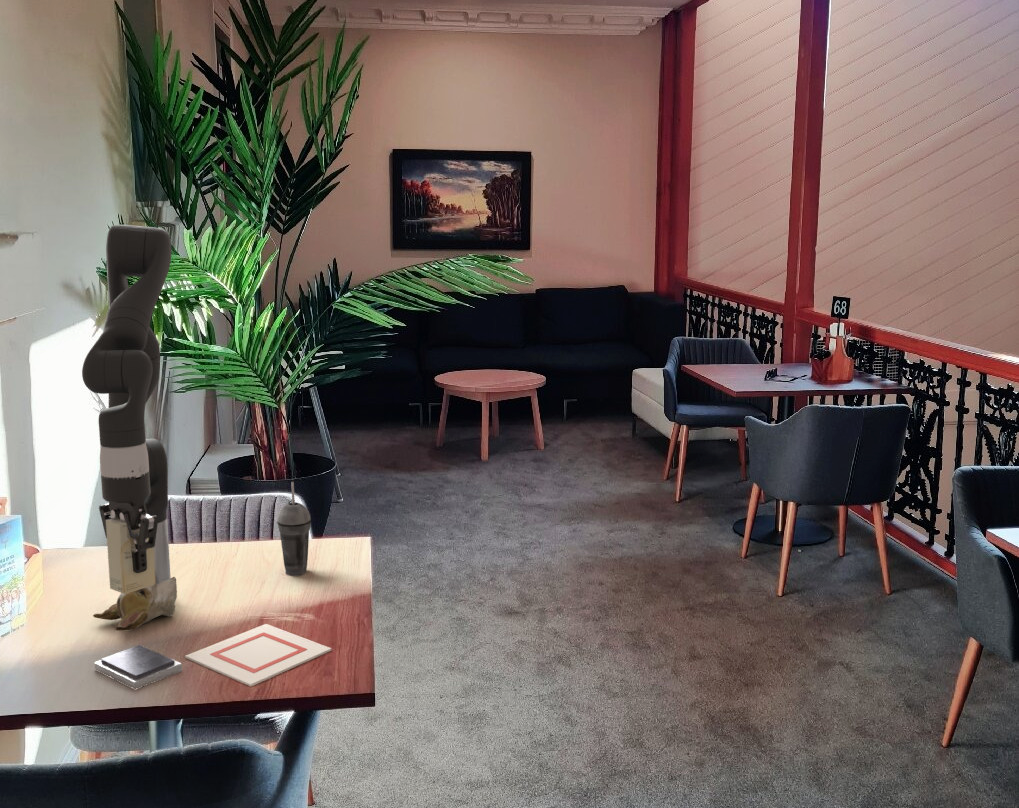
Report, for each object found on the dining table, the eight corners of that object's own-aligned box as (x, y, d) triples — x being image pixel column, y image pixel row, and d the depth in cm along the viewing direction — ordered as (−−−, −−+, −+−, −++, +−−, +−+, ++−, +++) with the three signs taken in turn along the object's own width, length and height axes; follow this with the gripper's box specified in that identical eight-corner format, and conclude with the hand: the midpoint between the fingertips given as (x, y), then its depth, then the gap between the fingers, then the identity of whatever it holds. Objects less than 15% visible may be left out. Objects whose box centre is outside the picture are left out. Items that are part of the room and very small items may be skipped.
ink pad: (94, 670, 176) (94, 659, 176) (141, 652, 184) (140, 642, 183) (135, 690, 169) (134, 678, 169) (181, 670, 176) (181, 660, 176)
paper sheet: (185, 657, 181) (185, 655, 181) (266, 625, 195) (266, 623, 195) (250, 686, 171) (250, 683, 171) (331, 650, 185) (331, 647, 185)
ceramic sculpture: (188, 575, 197) (112, 600, 187) (193, 617, 199) (118, 644, 189) (161, 562, 204) (87, 586, 194) (166, 603, 206) (93, 628, 196)
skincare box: (124, 595, 170) (119, 524, 168) (108, 589, 173) (103, 519, 170) (157, 584, 175) (153, 515, 173) (142, 578, 178) (137, 510, 175)
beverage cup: (279, 579, 220) (276, 488, 216) (278, 568, 227) (274, 480, 223) (314, 576, 222) (311, 486, 218) (311, 565, 229) (308, 478, 225)
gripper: (80, 467, 171) (87, 565, 174) (129, 481, 163) (136, 584, 166) (120, 459, 177) (127, 554, 180) (170, 472, 169) (176, 571, 172)
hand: (131, 568), depth 173 cm, fingers closed on skincare box, 4 cm apart
